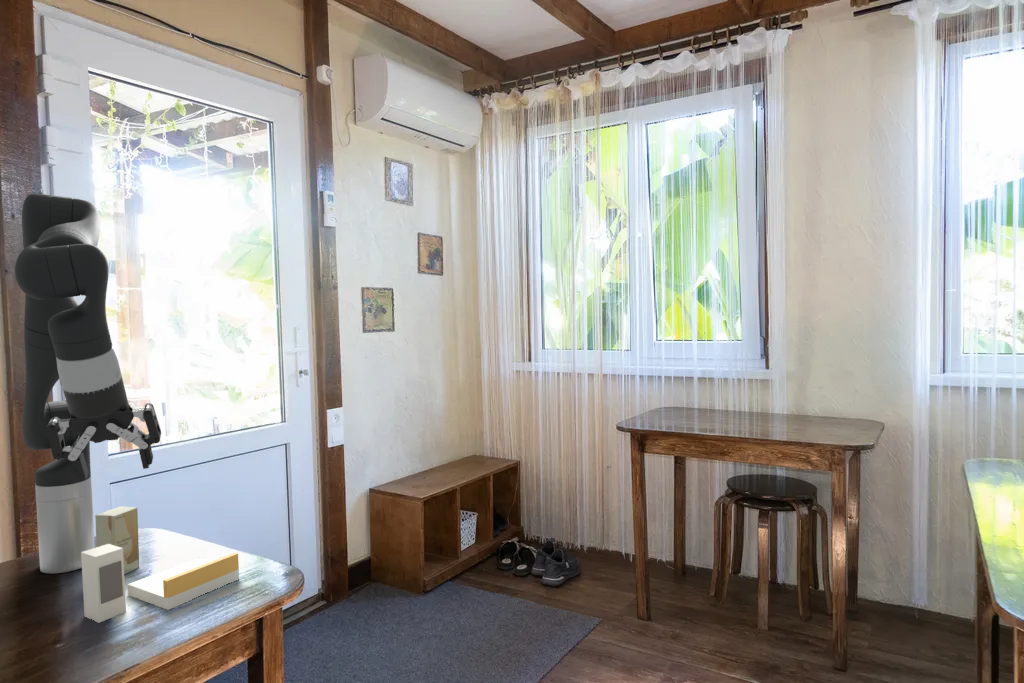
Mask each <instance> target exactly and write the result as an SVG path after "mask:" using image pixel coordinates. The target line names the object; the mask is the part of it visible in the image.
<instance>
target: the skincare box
mask: <svg viewBox="0 0 1024 683" xmlns="http://www.w3.org/2000/svg"><path fill="white" fill-rule="evenodd" d="M138 513H139V512H138V507H136V506H123V505H122V506H117V507H115V508H112V509H108V510H105V511H104V512H103V511H102V512H101V513H98V514H96V515H95V538H96V539H95V544H96V545H95V548H96V547H100V546H103V545H106V544H111V545H114V546H118V547H121V548H123V560H124V575H126V574H128V573H130V572H132V571H134V570H136V569H138V568H140V552H139V550H140V549H139V548H140V547H139V546H140V545H139V521H138Z"/></svg>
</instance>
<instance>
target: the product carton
mask: <svg viewBox="0 0 1024 683" xmlns="http://www.w3.org/2000/svg"><path fill="white" fill-rule="evenodd" d="M81 559H82V568H81V572H82V573H81V574H82V592H83V593H82V595H83V611H84V618H86V617H87V619H89V620H91V619H92V620H91V621H93V620H94V621H93V622H96V623H99V624H100V623H101V622H104V621H106V620H109V619H111V618H114V617H117V616H120V615H122V614H124V613H126V612H127V606H126V605H127V604H126V603H127V602H126V588H125V587H126V585H125V584H126V583H125V582H126V581H125V574H124V560H123V548H121V547H118V546H114V545H111V544H106V545H103V546H100V547H96V546H95V548H93V549H90V550H87V551H84V552H81Z"/></svg>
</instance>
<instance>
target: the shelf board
mask: <svg viewBox="0 0 1024 683" xmlns="http://www.w3.org/2000/svg"><path fill="white" fill-rule="evenodd" d="M239 566H240V565H239V553H238V552H233V553H230V554H228V555H225V556H223V557H220V558H217V559H215V560H208V559H204V558H201V557H197V558H195V559H192V560H188V561H187V562H184V563H181V564H178V565H176V566H173V567H170V568H168V569H165V570H162V571H159V572H157V573H155V574H152V575H151V574H150V575H149V576H146V577H143V578H141V579H138V580H136V581H133V582H130V583H127V595H128V596H130V597H132V598H135V599H137V598H138V600H140V601H142V602H145V603H149V604H151V605H153V604H154V605H153V606H156V607H159V608H161V607H162V609H164V610H167V611H170V610H171V609H174V608H176V607H178V606H180V605H182V604H185V602H186V603H187V602H190V601H192V599H193V598H195V599H197V598H199V597H198V596H200V595H202V596H204V595H206V594H205V593H207V592H209V593H211V592H213V591H212V590H214V589H216V590H218V589H220V587H221V588H223V587H225V586H227V585H226V584H228V583H230V584H232V583H234V582H233V581H235V580H237V579H239V580H240V567H239ZM237 581H238V580H237ZM231 582H232V583H231ZM235 582H236V581H235ZM224 585H225V586H224ZM228 585H229V584H228ZM222 586H223V587H222ZM217 588H218V589H217ZM210 591H211V592H210ZM214 591H215V590H214ZM203 594H204V595H203ZM207 594H208V593H207ZM196 597H197V598H196ZM200 597H201V596H200ZM189 600H190V601H189ZM193 600H194V599H193Z"/></svg>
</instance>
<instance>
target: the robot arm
mask: <svg viewBox="0 0 1024 683" xmlns="http://www.w3.org/2000/svg"><path fill="white" fill-rule="evenodd" d="M100 221H101V220H100V213H99V210H98V208H97V206H96V204H94V203H93V202H91V201H89V200H87V199H82V198H76V197H69V196H60V195H52V194H43V193H42V194H41V193H31V194H28V195H27V196H26V197H25V199H24V201H23V204H22V209H21V229H22V230H21V231H22V232H21V233H22V244H23V245H22V246H23V249H22V250H21V252H20V253H19V255H18V256H17V258H16V261H15V265H14V277H15V280H16V282H17V285H18V287H19V288H20V289H21V291H22V292H23V293H24V295H25V298H24V299H25V300H24V320H23V326H24V327H23V328H24V329H23V332H24V334H23V335H24V337H23V339H24V342H23V343H24V357H25V358H24V360H25V383H24V384H25V385H24V399H23V409H22V410H23V411H22V426H21V427H22V438H23V441H24V444H25V446H26V447H27V448H28V449H29V450H32V451H33V450H34V451H35V450H36V451H41V450H42V451H43V450H51V454H52V458H53V459H54V460H53V461H51V462H49V463H46V464H45V465H43V466H41V467H39V468H37V469H36V470H35V472H34V485H35V487H34V488H35V501H36V503H35V504H36V519H37V520H36V522H37V535H38V536H37V537H38V538H37V539H38V540H37V541H38V555H39V556H38V557H39V570H40V572H41V573H44V574H60V573H61V574H62V573H69V572H72V571H76V570H80V569H82V559H81V552H84V551H87V550H90V549H93V548H96V545H95V530H94V528H95V527H94V508H93V491H92V490H93V489H92V476H91V475H92V472H91V471H92V470H91V453H90V452H91V450H90V449H91V448H90V445H91V442H94V444H98V443H103V442H105V441H116V440H119V438H121V439H123V440H124V441H126V442H128V443H132V444H133V445H135V446H136V447H138V448H139V449H138V452H139V456H140V460H141V465H142V469H143V470H145V469H149V468H150V466H151V465H152V463H153V460H154V454H153V451H152V445H153V444H159V443H160V441H161V436H162V430H161V426H160V423H159V421H158V420H159V419H158V417H157V414H156V413H157V412H156V410H155V407H154V404H153V403H151V402H148V403H147V402H146V403H145V404H144V406H143V407H142V406H141V407H138V408H133V407H131V404H129V400H128V397H127V392H126V388H125V384H124V380H123V375H122V372H121V367H120V363H119V362H120V361H119V359H118V357H117V354H116V352H115V349H114V347H113V342H112V337H111V334H110V331H109V326H108V321H107V320H108V319H107V311H106V310H107V306H106V304H107V303H106V302H107V300H106V299H107V290H108V282H109V275H110V274H109V273H110V270H109V269H110V268H109V267H110V266H109V262H108V259H107V257H106V255H105V254H104V252H103V251H102V250H101V249H100V248H98V247H97V245H98V243H99V240H100V239H99V238H100V232H101V229H100V228H101V224H100V223H101V222H100ZM78 296H85V297H84V300H82V302H81V303H80V304H79V302H78V301H77V299H76V298H75V297H78ZM58 381H59V383H60V386H61V388H62V391H63V394H64V398H65V400H54V401H48V398H49V395H50V393H51V392H52V390H53V388H54V387H55V385H56V383H57V382H58ZM134 418H138V419H139V421H140V422H142V423H145V425H146V428H147V432H148V434H147V433H146V432H144V431H142V430H141V429H140V428H139V427H138V425H137V424H135V423H134V422H132V421H133V420H134Z"/></svg>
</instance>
